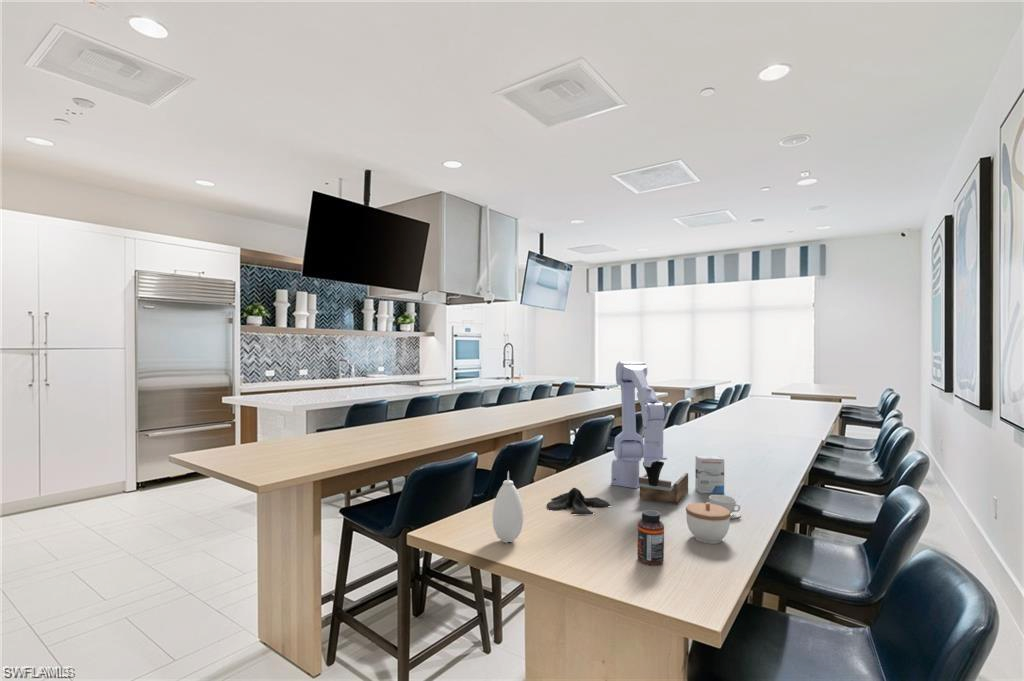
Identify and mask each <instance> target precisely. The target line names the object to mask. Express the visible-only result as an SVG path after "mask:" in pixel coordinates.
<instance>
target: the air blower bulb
mask: <svg viewBox="0 0 1024 681" xmlns="http://www.w3.org/2000/svg"><path fill="white" fill-rule="evenodd" d="M506 477H507V478H506V480H504V481H503V482H502V485H501V486H500V488H499V490H498V491H497V494H496V496H495V499H494V502H493V508H492V526H493V530H494V533H495V535H496V537H497V538H498V539H500V541H501V542H503V543H505V542H511V543H512V542H514V541H516V540H517V538H518V537H519V536H520V534H521V532H522V528H523V524H524V507H523V502H522V500H521V496H520V493H519V491H518V489H517V488H516V486H515V485H514V481H513V480H511V479H510V471H509V470H508V471H507V476H506Z"/></svg>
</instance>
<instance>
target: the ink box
mask: <svg viewBox="0 0 1024 681" xmlns="http://www.w3.org/2000/svg"><path fill="white" fill-rule="evenodd" d="M694 464H695V471H694V472H695V474H694V475H695V481H694V483H695V484H694V486H695V487H694V489H695V490H696V491H697V493H699V494H720V493H722V494H723V495H725V458H722V457H721V456H715V455H714V456H713V455H711V456H709V455H696V456H695V463H694ZM722 494H721V495H722Z"/></svg>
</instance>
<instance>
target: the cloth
mask: <svg viewBox="0 0 1024 681" xmlns="http://www.w3.org/2000/svg"><path fill="white" fill-rule="evenodd" d="M550 500H551V501H548V502H547V504H546V507H547V510H548V511H550V510H553V511H562V510H561V509H565V510H568V509H573V511H572V512H570V513H571V514H593V513H594V512H593V511H591V510H590V509H589V506H592V507H591V508H609V507H608V506H612V504H610V503H609V502H608V501H607V500H605V499H602V498H600V497H597V496H596V497H595V496H593V497H585V496H584V495H583V493H582V492H581V490H580V489H578V488H577V487H572V488H571V489H570V490H569V491H568V492H565V493H562V494H559V495H558V496H555V497H553V498H550ZM571 507H572V508H571ZM567 508H568V509H567ZM571 514H570V515H571Z"/></svg>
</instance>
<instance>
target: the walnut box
mask: <svg viewBox="0 0 1024 681" xmlns="http://www.w3.org/2000/svg"><path fill="white" fill-rule="evenodd" d="M681 476H682V477H681V478H680V479H679V480H678V481H677V482H676V483H675V487H674V488H673V489H672V490H671V491H666V490H659V489H653V488H647V487H640V486H639V498H640V500H644V499H645V501H651V502H657V503H663V504H670V505H675V506H678V505H679V504H680V503H681V501H682V500H683V499H684V498H685V497H686V495H688V493H689V473H688V472H686V473H684V474H683V475H681ZM642 477H647V473H645V474H644V475H643V476H642ZM639 498H638V499H639Z"/></svg>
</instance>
